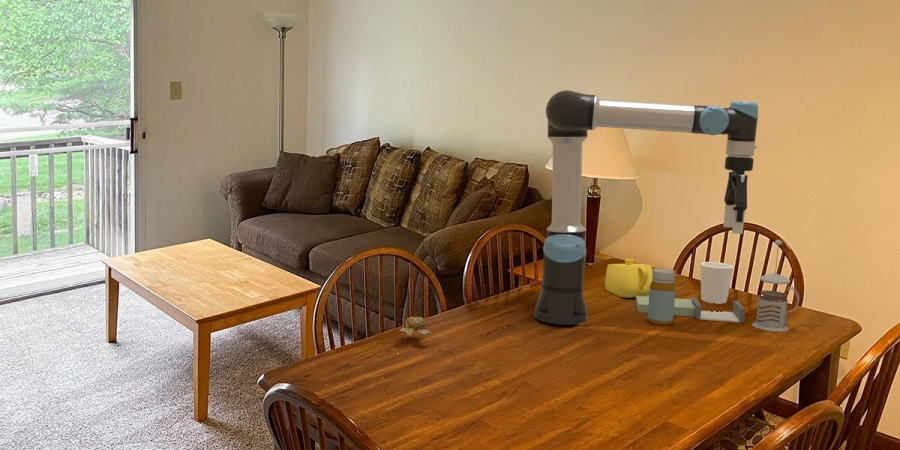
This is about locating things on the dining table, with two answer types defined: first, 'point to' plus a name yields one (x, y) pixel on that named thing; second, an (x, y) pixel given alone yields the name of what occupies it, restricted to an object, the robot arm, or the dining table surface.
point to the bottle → (661, 297)
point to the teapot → (628, 279)
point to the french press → (774, 303)
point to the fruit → (415, 326)
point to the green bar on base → (696, 310)
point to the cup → (715, 281)
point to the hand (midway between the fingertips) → (732, 230)
